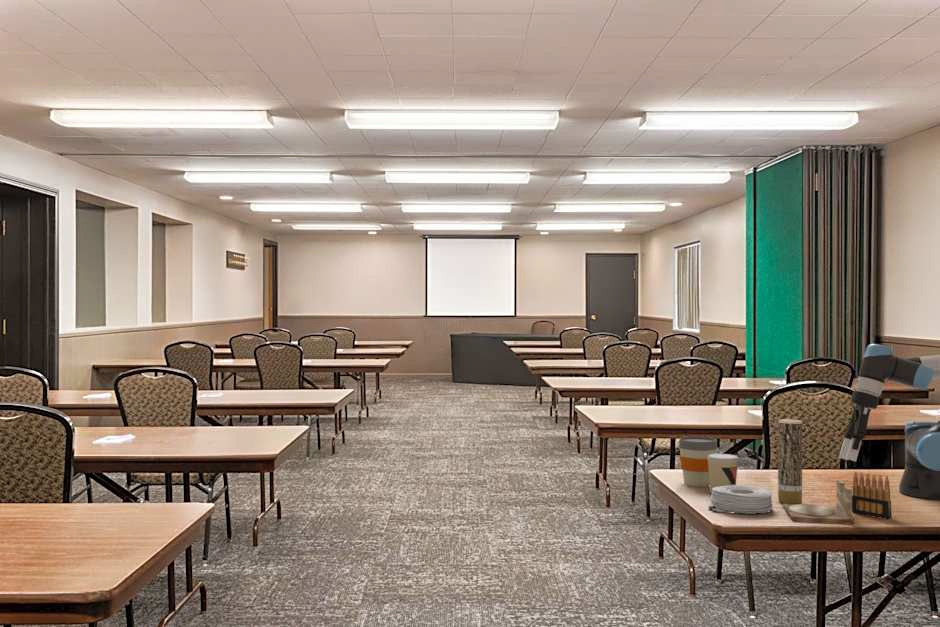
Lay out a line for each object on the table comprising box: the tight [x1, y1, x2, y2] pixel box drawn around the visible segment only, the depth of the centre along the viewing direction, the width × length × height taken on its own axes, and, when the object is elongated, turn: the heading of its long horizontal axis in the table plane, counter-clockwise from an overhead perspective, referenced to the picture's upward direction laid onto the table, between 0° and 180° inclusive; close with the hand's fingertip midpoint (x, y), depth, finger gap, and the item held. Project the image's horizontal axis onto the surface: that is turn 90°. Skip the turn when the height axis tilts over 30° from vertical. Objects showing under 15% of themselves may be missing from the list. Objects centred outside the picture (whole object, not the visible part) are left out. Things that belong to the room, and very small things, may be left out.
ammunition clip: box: [852, 471, 893, 520], centre depth 235 cm, size 11×2×12 cm, turn 40°
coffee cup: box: [707, 453, 739, 494], centre depth 264 cm, size 9×9×12 cm
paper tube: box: [777, 418, 803, 505], centre depth 251 cm, size 7×7×25 cm
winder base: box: [782, 479, 855, 525], centre depth 235 cm, size 16×16×9 cm
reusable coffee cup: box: [678, 436, 718, 487], centre depth 279 cm, size 13×13×15 cm
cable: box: [707, 484, 773, 515], centre depth 245 cm, size 18×18×6 cm
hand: (847, 459), depth 253 cm, fingers open, 13 cm apart
